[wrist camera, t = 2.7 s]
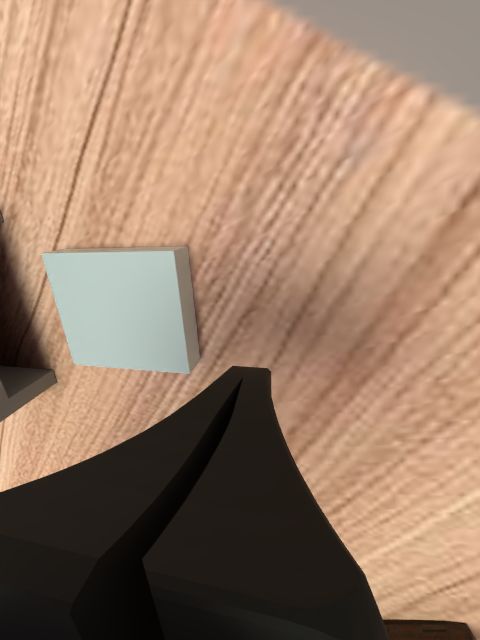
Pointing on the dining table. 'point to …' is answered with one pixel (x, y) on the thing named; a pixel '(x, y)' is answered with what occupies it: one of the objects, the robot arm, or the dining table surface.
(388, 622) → the coffee grinder
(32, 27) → the dining table surface
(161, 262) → the pale blue thin plate
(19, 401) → the overhang shelf
